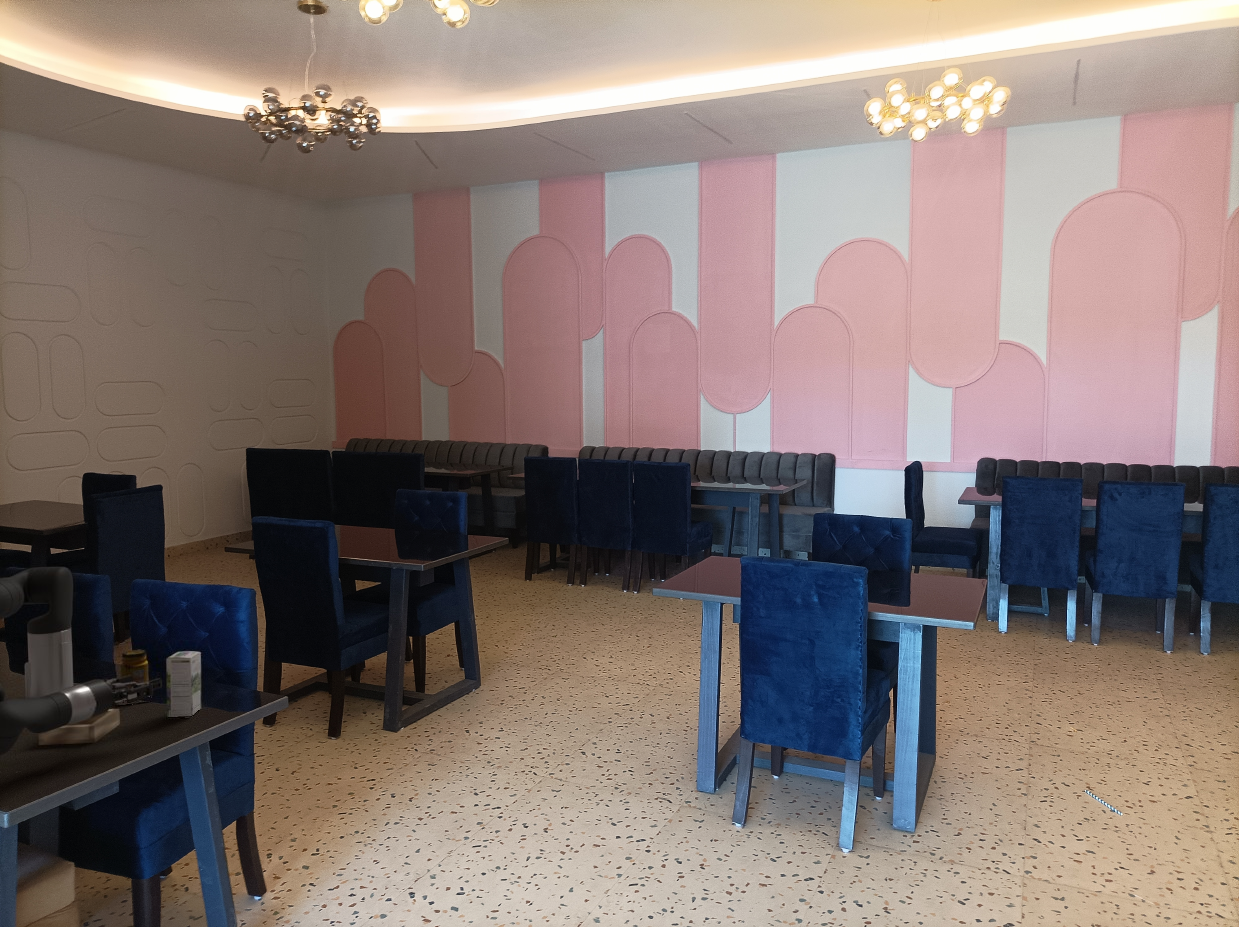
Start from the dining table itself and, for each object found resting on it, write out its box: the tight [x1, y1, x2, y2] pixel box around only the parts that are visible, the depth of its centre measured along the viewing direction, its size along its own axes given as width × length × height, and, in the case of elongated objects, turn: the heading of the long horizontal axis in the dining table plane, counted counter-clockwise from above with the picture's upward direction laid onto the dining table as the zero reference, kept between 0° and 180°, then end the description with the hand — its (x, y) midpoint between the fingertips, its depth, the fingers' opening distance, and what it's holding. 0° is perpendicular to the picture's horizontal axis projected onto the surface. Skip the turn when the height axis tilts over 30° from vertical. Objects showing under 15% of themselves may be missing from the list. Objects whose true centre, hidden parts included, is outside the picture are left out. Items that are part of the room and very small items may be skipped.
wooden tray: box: [37, 708, 121, 746], centre depth 189 cm, size 11×11×4 cm
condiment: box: [120, 649, 150, 701], centre depth 212 cm, size 7×8×12 cm
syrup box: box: [165, 650, 202, 717], centre depth 201 cm, size 6×6×14 cm
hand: (146, 681), depth 191 cm, fingers open, 8 cm apart
